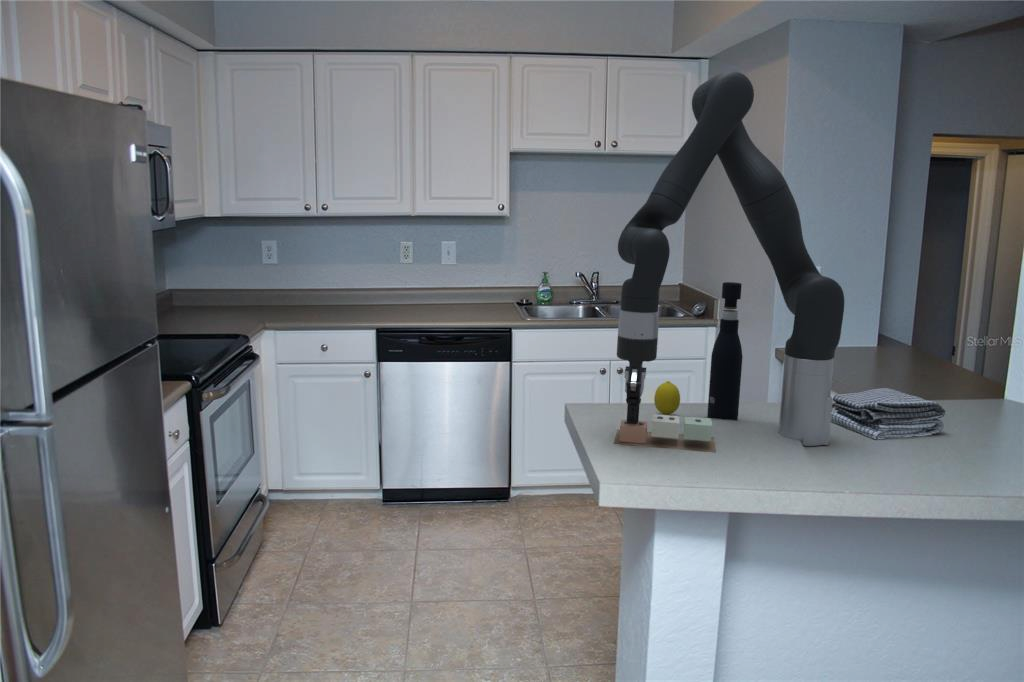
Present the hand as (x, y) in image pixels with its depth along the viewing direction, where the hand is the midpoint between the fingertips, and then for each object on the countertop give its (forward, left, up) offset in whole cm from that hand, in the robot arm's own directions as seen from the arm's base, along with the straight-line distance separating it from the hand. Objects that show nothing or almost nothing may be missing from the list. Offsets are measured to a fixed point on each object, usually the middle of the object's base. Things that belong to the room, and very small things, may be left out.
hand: (632, 422), depth 154 cm
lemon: (-6, -23, -5) cm, 24 cm away
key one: (-12, 0, -2) cm, 12 cm away
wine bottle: (-18, -23, -5) cm, 30 cm away
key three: (0, 0, -3) cm, 3 cm away
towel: (-52, -27, -5) cm, 59 cm away
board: (-6, -1, -5) cm, 8 cm away
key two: (-6, 0, -2) cm, 7 cm away
